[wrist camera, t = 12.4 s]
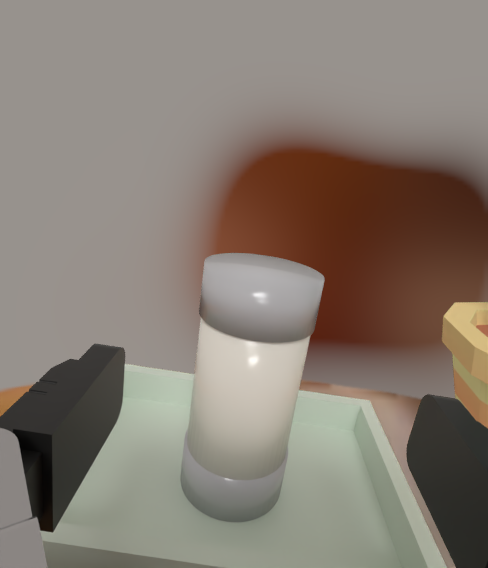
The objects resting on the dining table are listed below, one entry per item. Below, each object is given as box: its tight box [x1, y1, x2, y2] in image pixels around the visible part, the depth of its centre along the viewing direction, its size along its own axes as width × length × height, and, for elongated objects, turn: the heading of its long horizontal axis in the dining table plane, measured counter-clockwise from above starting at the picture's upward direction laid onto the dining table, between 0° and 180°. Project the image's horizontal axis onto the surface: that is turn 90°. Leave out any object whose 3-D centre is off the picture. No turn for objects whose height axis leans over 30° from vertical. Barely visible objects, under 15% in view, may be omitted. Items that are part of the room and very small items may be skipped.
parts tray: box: [40, 364, 447, 568], centre depth 18 cm, size 15×11×2 cm
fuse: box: [180, 253, 324, 522], centre depth 16 cm, size 5×5×10 cm
